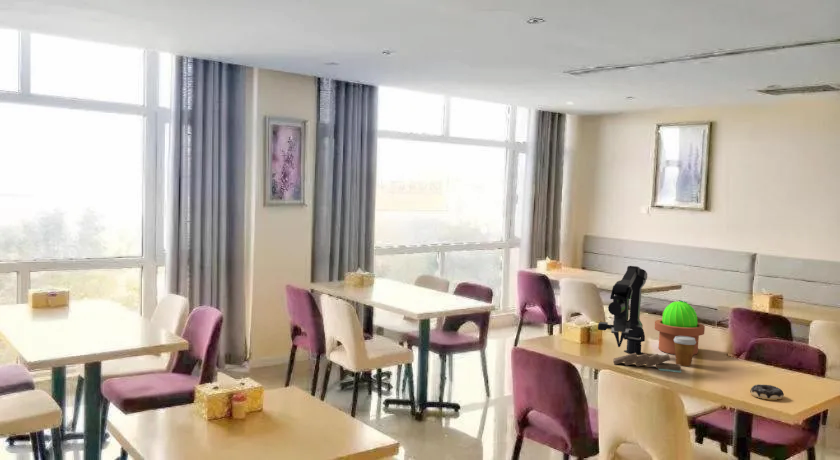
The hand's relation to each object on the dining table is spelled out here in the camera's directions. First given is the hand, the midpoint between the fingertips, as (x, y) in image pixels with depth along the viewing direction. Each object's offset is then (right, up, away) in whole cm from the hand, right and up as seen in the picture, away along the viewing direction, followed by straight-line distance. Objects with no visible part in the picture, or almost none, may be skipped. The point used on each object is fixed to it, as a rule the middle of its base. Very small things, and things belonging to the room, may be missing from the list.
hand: (619, 346), depth 311 cm
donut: (+44, -12, -42) cm, 62 cm away
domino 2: (+3, -7, 0) cm, 7 cm away
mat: (+20, -9, -6) cm, 23 cm away
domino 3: (+7, -7, -2) cm, 10 cm away
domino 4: (+11, -7, -3) cm, 14 cm away
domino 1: (-2, -7, +1) cm, 7 cm away
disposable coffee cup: (+30, -9, +3) cm, 31 cm away
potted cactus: (+36, -7, +29) cm, 47 cm away
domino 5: (+15, -7, -4) cm, 17 cm away
